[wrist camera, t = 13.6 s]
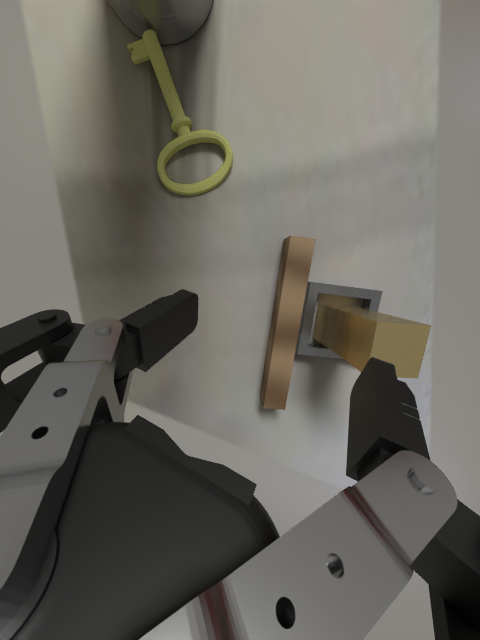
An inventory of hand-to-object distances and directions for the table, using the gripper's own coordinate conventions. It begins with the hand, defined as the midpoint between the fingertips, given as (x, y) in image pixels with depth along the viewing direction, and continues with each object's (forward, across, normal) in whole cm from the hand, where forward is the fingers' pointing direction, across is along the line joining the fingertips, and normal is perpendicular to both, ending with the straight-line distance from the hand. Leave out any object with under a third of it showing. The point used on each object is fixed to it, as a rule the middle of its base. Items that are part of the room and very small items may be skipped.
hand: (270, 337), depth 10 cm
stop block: (+16, -4, +7) cm, 18 cm away
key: (+15, +16, -8) cm, 23 cm away
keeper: (+16, -4, +7) cm, 18 cm away
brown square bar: (+14, +2, +8) cm, 16 cm away
